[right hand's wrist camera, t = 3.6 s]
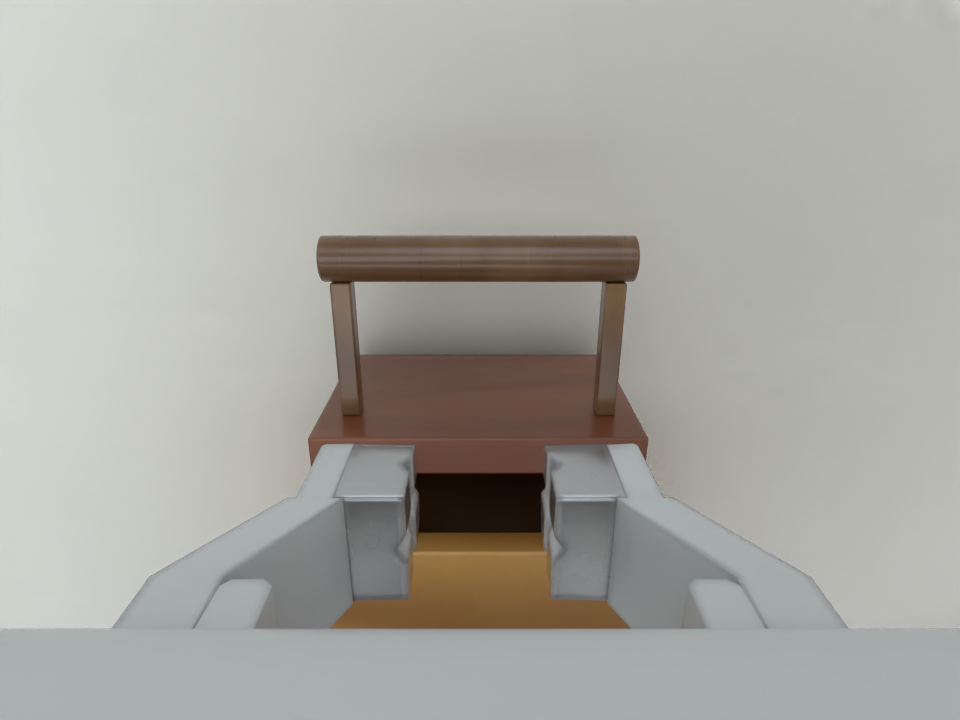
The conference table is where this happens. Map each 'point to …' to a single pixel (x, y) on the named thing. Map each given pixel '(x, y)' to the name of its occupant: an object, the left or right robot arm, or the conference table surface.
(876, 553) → the conference table surface
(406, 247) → the drawer
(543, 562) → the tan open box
